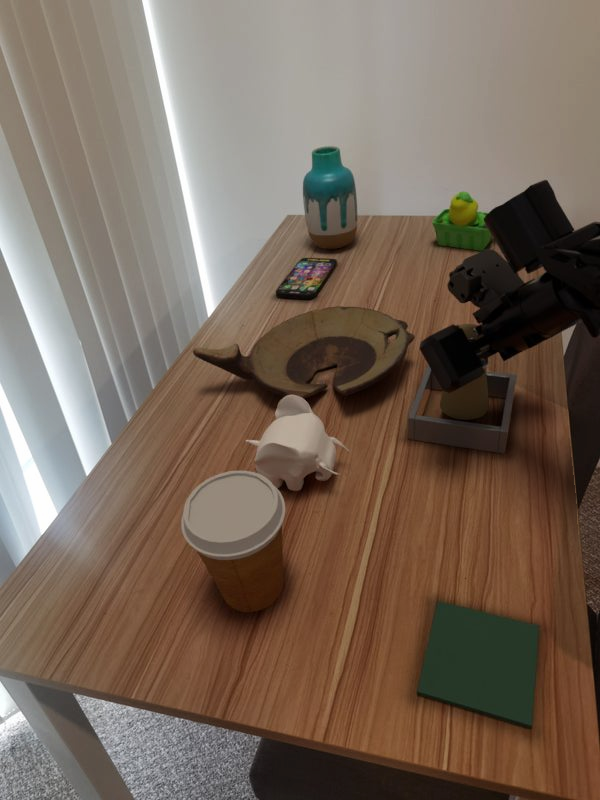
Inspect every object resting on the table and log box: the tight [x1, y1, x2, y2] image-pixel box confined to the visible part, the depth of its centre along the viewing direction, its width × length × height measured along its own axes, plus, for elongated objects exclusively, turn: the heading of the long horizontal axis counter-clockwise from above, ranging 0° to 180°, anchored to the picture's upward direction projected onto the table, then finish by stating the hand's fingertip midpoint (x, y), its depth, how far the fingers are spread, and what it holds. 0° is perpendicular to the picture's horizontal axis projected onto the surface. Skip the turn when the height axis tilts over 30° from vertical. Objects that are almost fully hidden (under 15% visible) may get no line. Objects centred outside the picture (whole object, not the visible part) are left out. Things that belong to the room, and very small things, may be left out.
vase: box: [302, 145, 358, 250], centre depth 119 cm, size 11×11×19 cm
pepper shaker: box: [439, 323, 490, 421], centre depth 73 cm, size 6×6×11 cm
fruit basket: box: [431, 191, 493, 252], centre depth 115 cm, size 11×9×11 cm
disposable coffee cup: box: [180, 470, 286, 613], centre depth 57 cm, size 10×10×12 cm
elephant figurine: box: [245, 395, 350, 492], centre depth 70 cm, size 10×12×9 cm
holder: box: [407, 364, 518, 455], centre depth 76 cm, size 12×12×4 cm
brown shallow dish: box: [192, 306, 416, 399], centre depth 87 cm, size 22×30×8 cm
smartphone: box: [275, 257, 338, 300], centre depth 113 cm, size 8×1×15 cm
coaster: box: [416, 600, 540, 730], centre depth 52 cm, size 9×9×1 cm
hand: (458, 357), depth 73 cm, fingers closed on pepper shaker, 5 cm apart
